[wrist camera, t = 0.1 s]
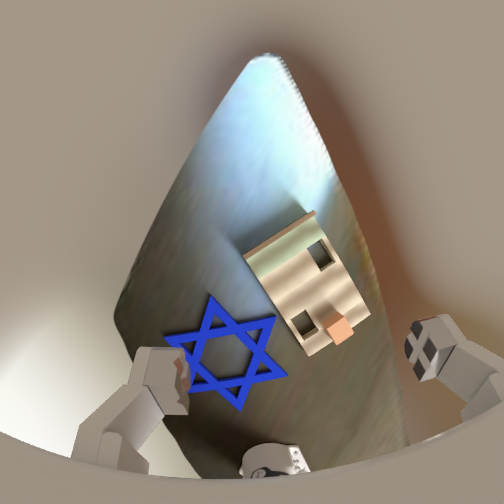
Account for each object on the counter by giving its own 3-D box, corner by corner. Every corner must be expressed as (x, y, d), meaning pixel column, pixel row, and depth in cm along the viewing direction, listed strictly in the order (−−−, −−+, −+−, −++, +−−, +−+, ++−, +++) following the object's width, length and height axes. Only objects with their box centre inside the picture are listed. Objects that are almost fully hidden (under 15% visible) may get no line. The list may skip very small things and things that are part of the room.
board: (365, 311, 64) (375, 317, 58) (306, 352, 64) (311, 361, 58) (307, 213, 63) (313, 209, 57) (242, 254, 63) (242, 255, 57)
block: (347, 327, 61) (354, 333, 57) (330, 338, 61) (336, 345, 57) (338, 311, 61) (344, 316, 57) (321, 323, 61) (326, 328, 57)
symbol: (312, 355, 63) (218, 426, 63) (311, 352, 65) (219, 422, 65) (236, 272, 62) (142, 355, 62) (236, 272, 64) (145, 353, 64)
